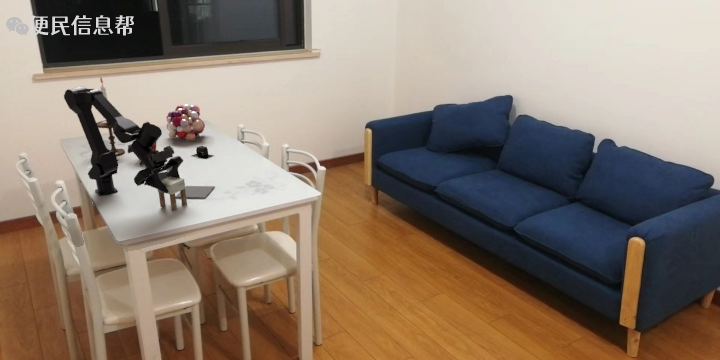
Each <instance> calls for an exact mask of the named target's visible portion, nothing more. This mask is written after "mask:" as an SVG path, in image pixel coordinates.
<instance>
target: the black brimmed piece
mask: <svg viewBox="0 0 720 360" xmlns="http://www.w3.org/2000/svg"><path fill="white" fill-rule="evenodd" d="M195 151H196V153H194V154H192V155H191V157H194V158H197V159H198V158H199V159H203V160H208V159H210V158H212V157H215V155H213V154H209V149H208V146H203V145H200V146H197V147H196V150H195Z"/></svg>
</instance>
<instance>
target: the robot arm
mask: <svg viewBox="0 0 720 360" xmlns="http://www.w3.org/2000/svg"><path fill="white" fill-rule="evenodd" d="M63 99H64V101H65V102H66V104H67V107H68V108H69V109H70V110H71V111H72V112H73V113H74V114H76V116H77V118H78V120H79V123H80V125H81V128H82V130H83V132H84V135H85V139H86V141H87V142H88V145H89V148H90V150H91V157H90V164H91V168H90V169H89V171H88V173H87V175H88V177H89V179H90V180H93V181H94V180H95V183H96V189H95V190H94V191H95V192H96V194H98V196H100V197H101V196H105V195H109V194H112V193H118V191H119V190H118V189H117V188H115V184H114V179H113V175H116V174H118V168H119V159H118V158H117V156H116V155H115V152H114V151H110V150H111V149H108V148H107V146H106V143H105V141H104V138H103V136H102V134H101V131H100V128H98V126H97V120H96V118H95V115H94V113H93V111H92V108H93V107H94V108H95V110H96V111H98V113H99V114H100V115H101V116H102V118H103V117H104V118H103V119H105V120H107V121H108V122H109V123H110V124H111V126H112V127H113V128H112V133H113V134H114V136H115V138H116V139H117V140H118V141H119V142H120V143H122V144H127V143H130V144H128V145H127V154H131V153H133V154H134V155H135V157H137V158H138V160H139V166H144V167H145V168H143V169H141V170H139V171H138V172H137V173H136V175H135V176H134V177H133V181H134V183H135V185H136V186H137V187H139V186H141V185H144V186H149V187H151V188H154V189H157V191H158V190H160V191H163V192H165V193H164V194H167V193H168V190H167V188H166V187H165V185H164V184H163V183H162V182H161V180H160V179H159V177H158V173H162V172H168V174H167V176H168V177H170V176H171V177H176V178H181V177H180V173H179V167H180V166H181V165H182V163H183V162H184V159H183V158H182V157H181V156H180V155H176V156H174V154H175V150H174V148H173V147H172V146H171V145H170V144H169V145H167V146H165V147H163V150H161V151H159V150H158V149H156V151H154V150H153V149H152V148H151V147H152V146H154V144H155V143H156V144H157V141H158V140H159V139H160V137H161V136H162V134H163V133H162V132H163V131H162V129H161V128H160V127H159V126H157V125H155V124H152V123H151V122H149V121H145V122H143V124H142V125H141V126H139V125H138V124H137V123H136V122H134V121H133V120H132V119H130V118H127V117H126V116H125V117H124V116H123V114H121V113H120V111H119V110H118V109H117V108H116V107H115V106H114V105H113V104H112V103H111V102H110V101H109V100H108V98H107V99H106V98H105V97H104V95H103V93H102V91H101V89H95V88H87V87H85V86H79V87H73V88H70V89H69V88H68V89H66V90H65V91H64V95H63ZM131 142H132V143H131ZM168 159H169V160H168Z"/></svg>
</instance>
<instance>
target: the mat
mask: <svg viewBox="0 0 720 360" xmlns="http://www.w3.org/2000/svg"><path fill="white" fill-rule="evenodd" d="M215 188H216V187H215V186H214V185H213V186H211V185H185V192H186V199H202V200H203V199H206V198H207V197H208V196H209V195H210V194H211V193H212V191H213V190H214V189H215ZM175 197H176V199H181V193H180V192H179V193H177V194H176V195H175Z"/></svg>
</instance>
